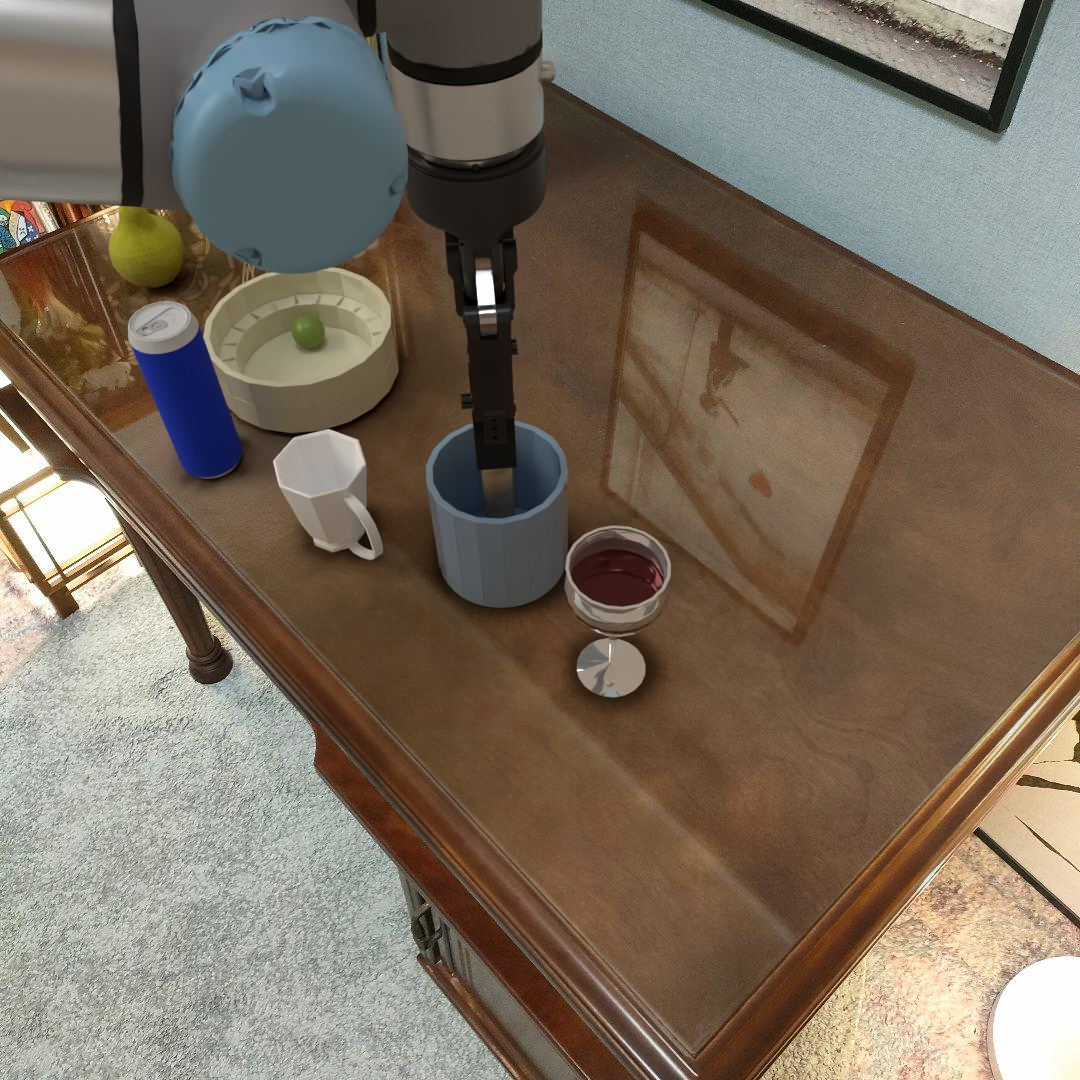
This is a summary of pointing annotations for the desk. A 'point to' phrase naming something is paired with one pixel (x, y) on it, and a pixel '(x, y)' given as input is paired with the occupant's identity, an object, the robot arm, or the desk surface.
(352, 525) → the cup
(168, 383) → the beverage can
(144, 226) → the fruit
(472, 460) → the utensil pot
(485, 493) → the stick
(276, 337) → the bowl
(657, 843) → the desk surface
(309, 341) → the olive
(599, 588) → the wineglass
